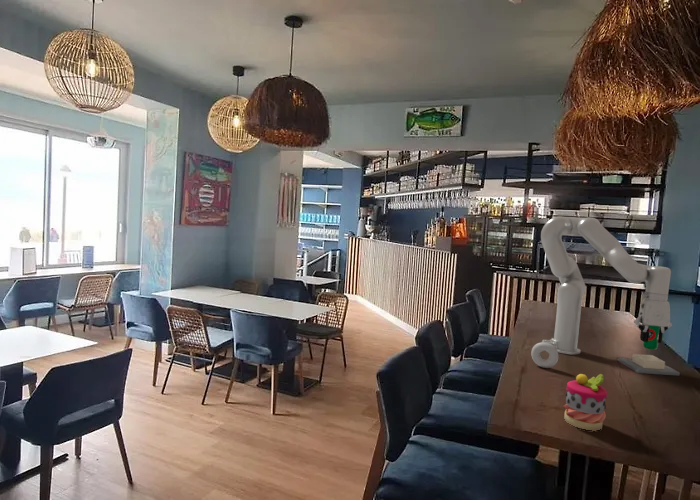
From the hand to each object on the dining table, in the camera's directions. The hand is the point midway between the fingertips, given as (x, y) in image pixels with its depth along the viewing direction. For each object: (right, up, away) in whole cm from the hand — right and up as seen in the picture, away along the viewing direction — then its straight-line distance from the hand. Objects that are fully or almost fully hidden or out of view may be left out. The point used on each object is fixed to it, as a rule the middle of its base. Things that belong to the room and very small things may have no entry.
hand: (650, 341), depth 183 cm
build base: (-1, -11, +1) cm, 11 cm away
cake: (-54, -13, -52) cm, 76 cm away
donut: (-46, -9, -6) cm, 47 cm away
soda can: (0, -3, 0) cm, 3 cm away
